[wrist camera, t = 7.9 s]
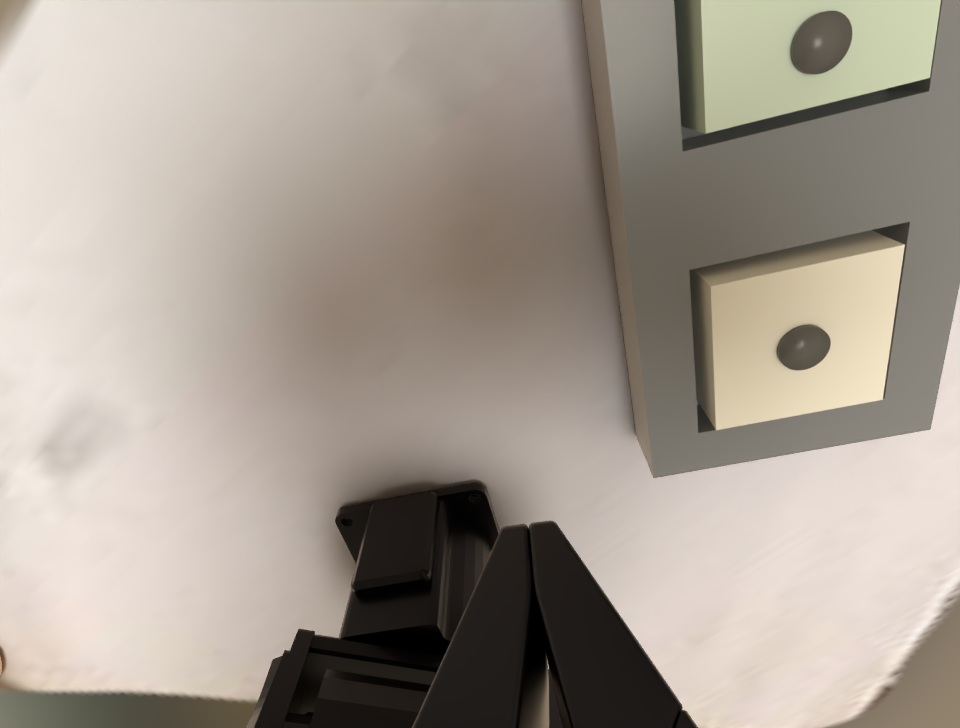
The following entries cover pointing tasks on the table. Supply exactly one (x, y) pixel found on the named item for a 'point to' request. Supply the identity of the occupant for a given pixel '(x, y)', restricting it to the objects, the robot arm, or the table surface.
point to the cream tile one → (795, 329)
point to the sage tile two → (794, 54)
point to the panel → (769, 226)
